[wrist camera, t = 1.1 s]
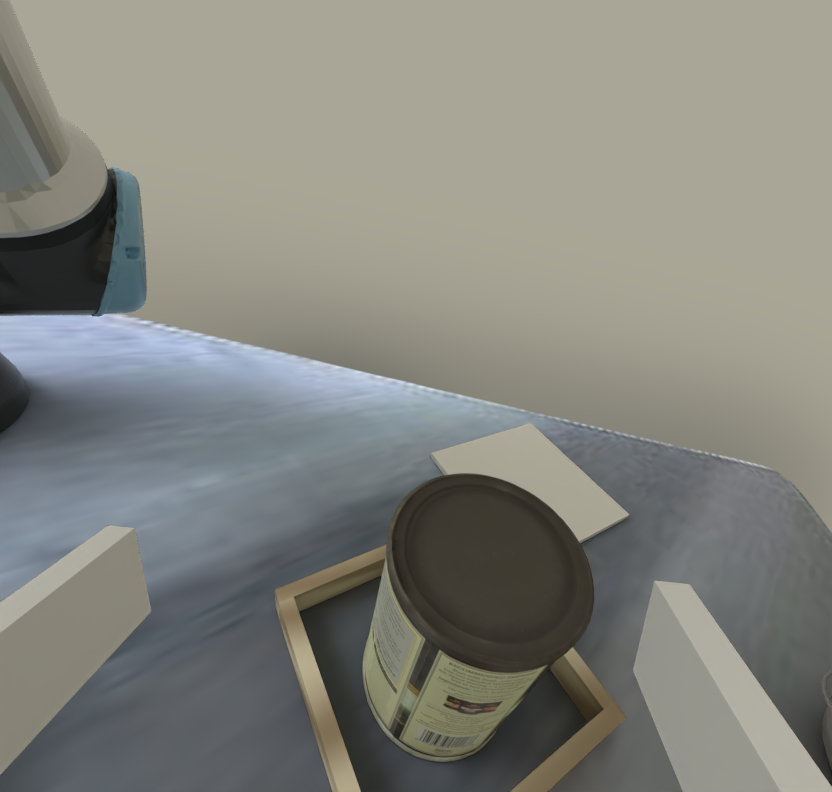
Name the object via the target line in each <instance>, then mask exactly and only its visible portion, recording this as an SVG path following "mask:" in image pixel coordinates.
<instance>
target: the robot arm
mask: <svg viewBox="0 0 832 792" xmlns="http://www.w3.org/2000/svg"><path fill="white" fill-rule="evenodd" d="M146 288H147V287H146V262H145V245H144V231H143V219H142V208H141V198H140V189H139V184H138V181H137V179H136V177H135V176H133V175H132V174H131V173H129V172H125V171H121V170H120V169H119V168H113V167H111V168H110V169H107V167H106V164H105V162H104V159H103V157H102V155H101V153H100V151H99V149H98V148H97V146H96V145H95V143H94V142H93V141H92V140H91V139H90V138H89V137H88V136H87V135H86V134H85V133H84V132H83V131H81V130H80V129H79V128H78V127H76V126H75V125H73V124H72V123H71V122H69V121H67V120H66V119H64V118H62V117H60V116H59V114H58V112H57V110H56V107H55V105H54V103H53V100H52V98H51V96H50V93H49V91H48V89H47V86H46V84H45V82H44V79H43V77H42V75H41V72H40V70H39V68H38V66H37V63H36V61H35V58H34V56H33V54H32V51H31V49H30V47H29V44H28V42H27V40H26V37H25V35H24V32H23V30H22V28H21V26H20V23H19V21H18V19H17V16H16V14H15V11H14V9H13V7H12V4H11V2H10V0H0V316H14V315H92V316H98V317H99V316H102V315H103V314H113V313H128V312H133V311H136V310H138V309H139V308H141V307H142V306H143V305H144V303H145V300H146V291H147V289H146ZM28 399H29V392H28V389H27V387H26V385H25V382H24V380H23V378H22V376H21V374H20V372H19V371H18V369H17V368H16V367H15V366H14V365H13V364H12V363H11V362H10V361H9V360H8V359H7V358H6V357H5V356H4V355H2V354H1V353H0V432H1V431H2V430H4V429H5V428H7V427H8V426H9V425H10V424H11V423H13V422H14V421H15V420H16V419H17V418H18V417H19V416H20V414H21V413H22V412H23V410H24V409H25V407H26V405H27V403H28ZM150 612H151V607H150V602H149V597H148V592H147V587H146V582H145V577H144V572H143V567H142V562H141V557H140V552H139V547H138V542H137V537H136V532H135V528H130V527H120V526H110V525H108V526H107V527H105V528H104V529H102V530H101V531H100V532H98V533H97V534H95V535H94V536H93V537H91V538H90V539H88V540H87V541H86V542H84V543H83V544H81V545H80V546H79V547H77V548H76V549H74V550H73V551H72V552H70V553H69V554H67V555H66V556H65V557H63V558H62V559H60V560H59V561H58V562H56V563H55V564H53V565H52V566H51V567H49V568H48V569H46V570H45V571H44V572H42V573H41V574H39V575H38V576H37V577H35V578H34V579H32V580H31V581H30V582H28V583H27V584H25V585H24V586H23V587H21V588H20V589H18V590H17V591H16V592H14V593H13V594H11V595H10V596H9V597H7V598H6V599H4V600H3V601H2V602H0V775H1V774H2V773H3V771H4V770H5V769H6V768H7V767H8V766H9V765H10V764H11V763H12V762H13V761H14V760H15V758H16V757H17V756H18V755H19V754H20V753H21V752H22V751H23V750H24V749H25V748H26V747H27V745H28V744H29V743H30V742H31V741H32V740H33V739H34V738H35V737H36V736H37V735H38V734H39V732H40V731H41V730H42V729H43V728H44V727H45V726H46V725H47V724H48V723H49V722H50V721H51V719H52V718H53V717H54V716H55V715H56V714H57V713H58V712H59V711H60V710H61V709H62V708H63V706H64V705H65V704H66V703H67V702H68V701H69V700H70V699H71V698H72V697H73V696H74V694H75V693H76V692H77V691H78V690H79V689H80V688H81V687H82V686H83V685H84V684H85V683H86V681H87V680H88V679H89V678H90V677H91V676H92V675H93V674H94V673H95V672H96V671H97V670H98V668H99V667H100V666H101V665H102V664H103V663H104V662H105V661H106V660H107V659H108V658H109V657H110V655H111V654H112V653H113V652H114V651H115V650H116V649H117V648H118V647H119V646H120V645H121V644H122V642H123V641H124V640H125V639H126V638H127V637H128V636H129V635H130V634H131V633H132V632H133V631H134V629H135V628H136V627H137V626H138V625H139V624H140V623H141V622H142V621H143V620H144V619H145V618H146V616H147V615H148V614H149V613H150ZM633 672H634V674H635V677H636V679H637V682H638V684H639V686H640V689H641V691H642V694H643V696H644V699H645V701H646V703H647V706H648V708H649V711H650V713H651V716H652V718H653V720H654V723H655V725H656V728H657V730H658V733H659V735H660V737H661V740H662V742H663V745H664V747H665V750H666V752H667V754H668V757H669V759H670V762H671V764H672V767H673V769H674V771H675V774H676V776H677V779H678V781H679V784H680V786H681V788H682V791H683V792H832V782H828V781H827V779H826V778H825V777H824V775H823V774H822V772H821V771H820V769H819V768H818V767H817V765H816V764H815V762H814V761H813V759H812V758H811V757H810V755H809V754H808V752H807V751H806V749H805V748H804V747H803V745H802V744H801V742H800V741H799V740H798V738H797V737H796V735H795V734H794V732H793V731H792V730H791V728H790V727H789V725H788V724H787V722H786V721H785V720H784V718H783V717H782V715H781V714H780V712H779V711H778V710H777V708H776V707H775V705H774V704H773V703H772V701H771V700H770V698H769V697H768V695H767V694H766V693H765V691H764V690H763V688H762V687H761V685H760V684H759V683H758V681H757V680H756V678H755V677H754V675H753V674H752V673H751V671H750V670H749V668H748V667H747V665H746V664H745V663H744V661H743V660H742V658H741V657H740V656H739V654H738V653H737V651H736V650H735V648H734V647H733V646H732V644H731V643H730V641H729V640H728V638H727V637H726V636H725V634H724V633H723V631H722V630H721V628H720V627H719V626H718V624H717V623H716V621H715V620H714V619H713V617H712V616H711V614H710V613H709V611H708V610H707V609H706V607H705V606H704V604H703V603H702V601H701V600H700V599H699V597H698V596H697V594H696V593H695V591H694V590H693V589H692V587H691V586H690V584H682V583H673V582H663V581H654V585H653V589H652V593H651V597H650V601H649V606H648V610H647V614H646V618H645V622H644V627H643V631H642V635H641V639H640V643H639V648H638V652H637V656H636V660H635V664H634V669H633Z"/></svg>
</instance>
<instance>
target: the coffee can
mask: <svg viewBox="0 0 832 792" xmlns="http://www.w3.org/2000/svg"><path fill="white" fill-rule="evenodd" d="M593 604H594V586H593V579H592V573H591V569H590V565H589V562H588V559H587V557H586V555H585V552H584V550H583V548H582V546H581V545H580V543H579V541H578V539H577V538H576V536H575V535H574V533H573V532H572V530H571V529H570V528H569V527H568V525H567V524H566V523H565V522H564V520H563V519H562V518H561V517H560V516H559V515H558V514H557V513H556V512H555V511H554V510H553V509H552V508H551V507H550V506H548V505H547V504H546V503H544V502H543V501H542V500H541V499H539V498H538V497H536V496H535V495H533V494H532V493H530V492H528V491H527V490H525V489H523V488H521V487H519V486H517V485H515V484H513V483H510V482H508V481H505V480H502V479H499V478H495V477H491V476H487V475H482V474H472V473H458V474H450V475H444V476H440V477H437V478H434V479H432V480H429V481H427V482H425V483H423V484H421V485H420V486H418V487H417V488H415V489H414V490H413V491H411V492H410V493H409V494H408V495H407V496H406V497H405V498H404V499H403V501H402V502H401V503H400V505H399V506H398V508H397V510H396V511H395V514H394V516H393V518H392V520H391V523H390V527H389V532H388V536H387V545H386V558H385V563H384V568H383V572H382V577H381V582H380V587H379V591H378V596H377V601H376V605H375V610H374V614H373V619H372V624H371V628H370V633H369V637H368V639H367V642H366V646H365V650H364V656H363V666H362V670H363V683H364V689H365V693H366V698H367V702H368V704H369V706H370V708H371V710H372V713H373V715H374V717H375V719H376V721H377V722H378V724H379V725H380V727H381V728H382V730H383V731H384V732H385V733H386V735H387V736H388V737H389V738H390V739H391V740H392V741H393V742H394V743H395V744H397V745H398V746H399V747H400V748H402V749H403V750H405V751H407V752H408V753H410V754H411V755H413V756H416V757H419V758H422V759H425V760H430V761H436V762H448V761H455V760H460V759H463V758H465V757H468V756H470V755H472V754H475V753H476V752H477V751H479V750H480V749H481V748H482V747H483V746H484V745H486V744H487V743H488V741H489V740H490V739H491V738H492V737H493V735H494V734H495V732H496V731H497V729H498V728H499V727H500V726H501V724H502V723H503V722H504V721H505V719H506V718H507V717H508V716H509V715H510V714H511V712H512V711H513V710H514V709H515V708H516V706H517V705H518V704H519V703H520V702H521V701H522V699H523V698H524V697H525V696H526V695H527V693H528V692H529V691H530V690H531V689H532V688H533V687H534V686H535V685H536V683H537V682H538V681H539V680H540V679H541V677H543V675H544V674H545V673H546V672H547V670H548V669H549V668H550V667H551V666H552V665H553V664H554V662H555V661H556V660H557V659H559V658H560V657H562V656H563V655H565V654H566V653H567V652H568V651H569V650H570V649H571V648H572V647H573V646H574V645H575V644H576V643H577V642H578V641H579V639H580V638H581V636H582V635H583V633H584V632H585V631H586V628H587V626H588V624H589V622H590V618H591V615H592V611H593Z"/></svg>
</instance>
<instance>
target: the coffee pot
mask: <svg viewBox="0 0 832 792" xmlns="http://www.w3.org/2000/svg"><path fill="white" fill-rule="evenodd" d="M831 675H832V670H829V671H828V672H827V673H826V674H825V675H823V676H822V691H823V694H824V697H825V700H826V702H827V707H826V710H825V712H824V715H823V719H822V740H823V743H824V747H825V750H826V753H827V757H828V760H829V764H830V767H831V770H832V697H831V699H829V697H828V694H827V691H826V686H827V678H829V677H830V676H831Z"/></svg>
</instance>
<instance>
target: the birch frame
mask: <svg viewBox="0 0 832 792" xmlns="http://www.w3.org/2000/svg"><path fill="white" fill-rule="evenodd" d="M385 558H386V545H384V546H382V547H379V548H377V549H374V550H372V551H369V552H367V553H365V554H362V555H360V556H357V557H355V558H352V559H350V560H347V561H345V562H342V563H340V564H337V565H335V566H332V567H330V568H327V569H325V570H322V571H320V572H318V573H315V574H313V575H310V576H308V577H305V578H303V579H300V580H298V581H295V582H293V583H290V584H288V585H285V586H283V587H280V588H278V589H275V605H276V610H277V614H278V617H279V620H280V623H281V627H282V630H283V633H284V636H285V640H286V643H287V646H288V649H289V653H290V656H291V659H292V662H293V666H294V669H295V672H296V675H297V679H298V682H299V685H300V688H301V692H302V695H303V698H304V701H305V705H306V708H307V711H308V714H309V718H310V721H311V724H312V727H313V731H314V734H315V737H316V740H317V744H318V747H319V750H320V753H321V757H322V760H323V763H324V766H325V770H326V773H327V776H328V779H329V783H330V786H331V789H332V792H361V791H360V788H359V785H358V782H357V779H356V776H355V773H354V770H353V767H352V765H351V762H350V759H349V756H348V753H347V750H346V747H345V744H344V741H343V738H342V736H341V733H340V730H339V727H338V724H337V721H336V718H335V715H334V712H333V709H332V707H331V704H330V701H329V698H328V695H327V692H326V689H325V686H324V683H323V680H322V678H321V675H320V672H319V669H318V666H317V663H316V660H315V657H314V654H313V651H312V649H311V646H310V643H309V640H308V637H307V634H306V631H305V628H304V625H303V622H302V620H301V617H300V614H299V612H300V611H302V610H305V609H307V608H309V607H311V606H314V605H316V604H318V603H321V602H323V601H325V600H327V599H330V598H332V597H334V596H336V595H339V594H341V593H343V592H345V591H348V590H350V589H352V588H354V587H357V586H359V585H361V584H363V583H366V582H368V581H370V580H373V579H375V578H377V577H379V576H382V572H383V568H384V563H385ZM550 670H551V671H552V672H553V674H554V675H555V677H556V678H557V680H558V681H559V682H560V684H561V685H562V687H563V688H564V690H565V691H566V692H567V694H568V695H569V697H570V698H571V700H572V701H573V702H574V704H575V705H576V707H577V708H578V710H579V711H580V712H581V714H582V715H583V717H584V718H585V720H586V721H587V722H588V723H586V724H585V725H584V726H583V727H582V728H581V729H580V730H578V731H577V732H576V733H575V734H574V735H573V736H572V737H570V738H569V739H568V740H567V741H566V742H565V743H564V744H562V745H561V746H560V747H559V748H558V749H557V750H556V751H555V752H553V753H552V754H551V755H550V756H549V757H548V758H547V759H545V760H544V761H543V762H542V763H541V764H540V765H539V766H537V767H536V768H535V769H534V770H533V771H532V772H531V773H529V774H528V775H527V776H526V777H525V778H524V779H523V780H521V781H520V782H519V783H518V784H517V785H516V786H515V787H514V788H512V789H511V790H510V791H509V792H547V791H549V790H550V789H551V788H552V787H553V786H554V785H555V784H556V783H557V782H558V781H559V780H560V779H561V778H562V777H563V776H565V775H566V774H567V773H568V772H569V771H570V770H571V769H572V768H573V767H574V766H575V765H576V764H577V763H578V762H580V761H581V760H582V759H583V758H584V757H585V756H586V755H587V754H588V753H589V752H590V751H591V750H592V749H593V748H594V747H596V746H597V745H598V744H599V743H600V742H601V741H602V740H603V739H604V738H605V737H606V736H607V735H608V734H609V733H610V732H612V731H613V730H614V729H615V728H616V727H617V726H618V725H619V724H620V723H621V722H622V721H623V720H624V719H625V718H626V716H625V715H624V714H623V712H622V711H621V710H620V708H619V707H618V706H617V704H616V703H615V702H614V700H613V699H612V698H611V697H610V695H609V694H608V693H607V691H606V690H605V689H604V687H603V686H602V685H601V683H600V682H599V681H598V679H597V678H596V677H595V676H594V674H593V673H592V672H591V670H590V669H589V668H588V666H587V665H586V664H585V662H584V661H583V660H582V658H581V657H580V656H579V655H578V653H577V652H576V651H575V649H574V648H573V647H572V648H571V649H570V650H569V651H568V652H567V653H566V654H565V655H563V656H562V657H560V658H559V659H557V660H556V661H555V662H554V664H553V665H552V666H551V667H550Z"/></svg>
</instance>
